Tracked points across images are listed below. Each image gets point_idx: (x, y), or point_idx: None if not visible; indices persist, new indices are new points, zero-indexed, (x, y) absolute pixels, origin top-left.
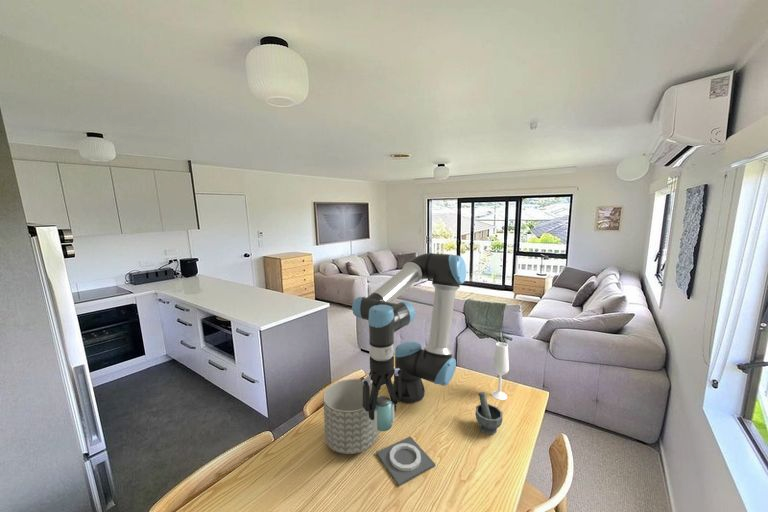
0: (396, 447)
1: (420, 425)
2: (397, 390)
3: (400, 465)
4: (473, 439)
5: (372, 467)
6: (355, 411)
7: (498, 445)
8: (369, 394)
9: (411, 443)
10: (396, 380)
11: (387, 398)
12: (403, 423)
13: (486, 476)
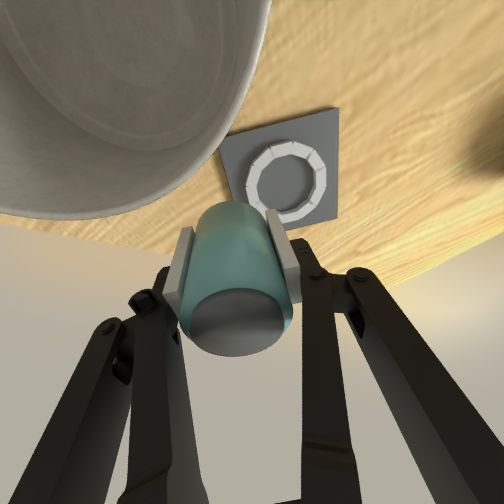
0: (276, 153)
1: (404, 51)
2: (368, 354)
3: (262, 211)
4: (468, 171)
5: (198, 180)
6: (69, 218)
7: (488, 203)
8: (108, 482)
9: (325, 140)
10: (427, 465)
11: (274, 323)
12: (360, 6)
13: (396, 254)
